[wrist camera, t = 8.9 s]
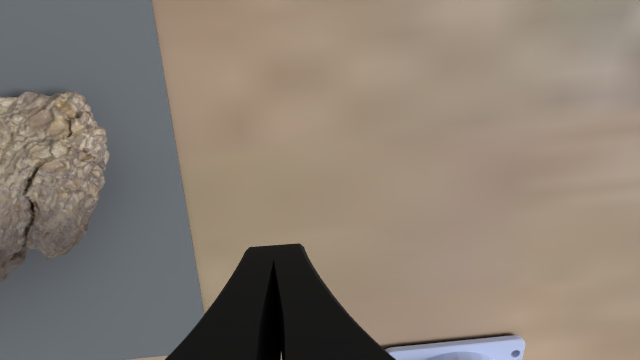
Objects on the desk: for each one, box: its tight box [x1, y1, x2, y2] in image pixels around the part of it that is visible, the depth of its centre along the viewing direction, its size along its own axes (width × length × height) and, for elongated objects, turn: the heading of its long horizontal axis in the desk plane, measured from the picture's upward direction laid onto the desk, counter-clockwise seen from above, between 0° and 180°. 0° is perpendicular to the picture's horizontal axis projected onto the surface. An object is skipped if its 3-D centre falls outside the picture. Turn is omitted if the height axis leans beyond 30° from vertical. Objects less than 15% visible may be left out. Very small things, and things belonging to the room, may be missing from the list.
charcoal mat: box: [0, 0, 204, 360], centre depth 17 cm, size 20×12×1 cm, turn 1°
